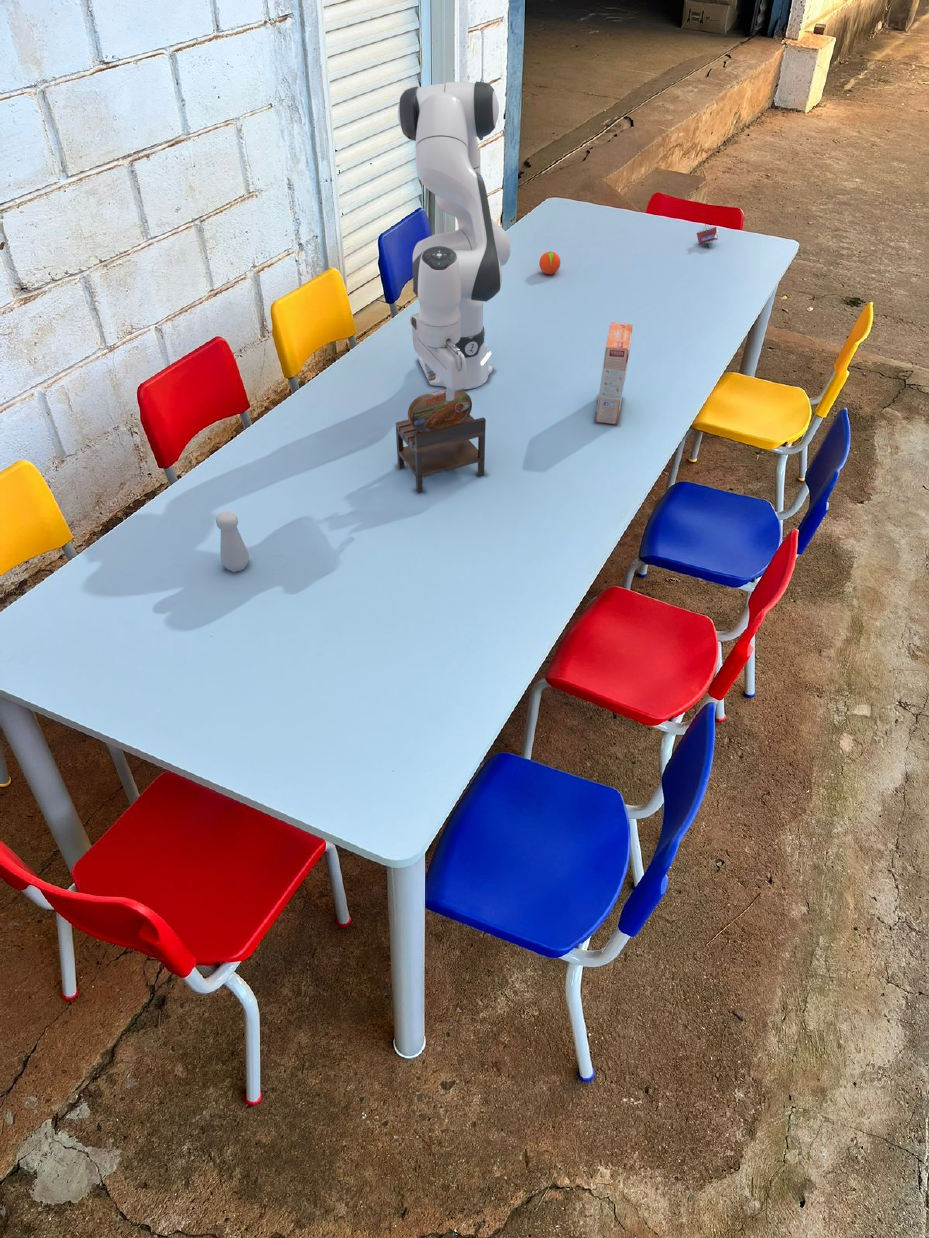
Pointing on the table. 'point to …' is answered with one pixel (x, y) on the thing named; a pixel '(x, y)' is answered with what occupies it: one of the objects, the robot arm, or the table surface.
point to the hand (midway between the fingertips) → (439, 389)
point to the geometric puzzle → (708, 235)
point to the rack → (440, 448)
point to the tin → (439, 410)
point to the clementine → (549, 262)
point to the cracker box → (614, 372)
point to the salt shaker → (231, 542)
